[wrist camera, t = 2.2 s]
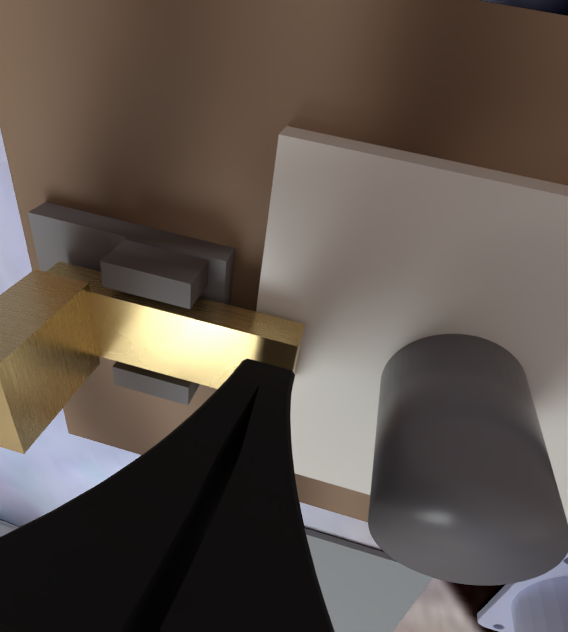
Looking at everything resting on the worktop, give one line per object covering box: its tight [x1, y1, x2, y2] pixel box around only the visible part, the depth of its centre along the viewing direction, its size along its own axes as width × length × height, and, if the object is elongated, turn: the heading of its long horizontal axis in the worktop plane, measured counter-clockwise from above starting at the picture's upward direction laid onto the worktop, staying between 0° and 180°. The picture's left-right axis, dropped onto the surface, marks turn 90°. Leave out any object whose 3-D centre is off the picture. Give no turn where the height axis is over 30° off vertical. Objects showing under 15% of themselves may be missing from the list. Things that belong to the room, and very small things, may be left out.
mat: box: [305, 528, 433, 632], centre depth 27 cm, size 14×14×1 cm
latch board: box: [0, 0, 568, 522], centre depth 14 cm, size 20×18×3 cm
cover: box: [256, 126, 568, 585], centre depth 12 cm, size 12×12×5 cm
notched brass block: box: [0, 261, 305, 454], centre depth 12 cm, size 8×3×4 cm, turn 82°
